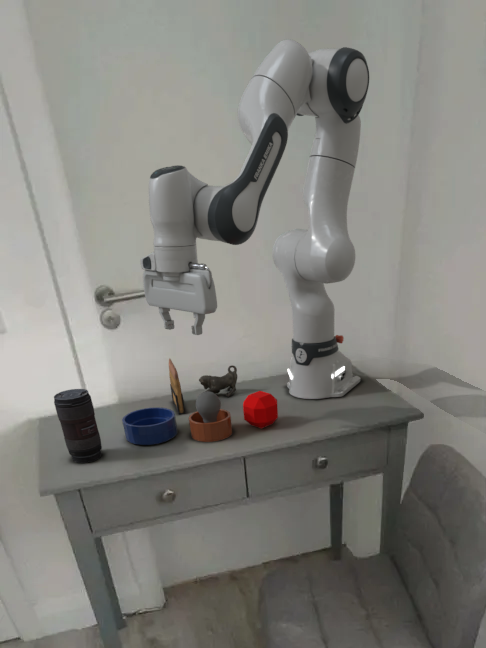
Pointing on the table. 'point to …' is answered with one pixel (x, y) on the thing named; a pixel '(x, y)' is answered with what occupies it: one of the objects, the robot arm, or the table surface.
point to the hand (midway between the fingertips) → (183, 331)
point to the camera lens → (78, 424)
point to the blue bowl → (150, 426)
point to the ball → (260, 409)
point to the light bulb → (208, 406)
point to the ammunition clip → (176, 389)
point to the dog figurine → (220, 382)
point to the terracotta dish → (210, 427)
